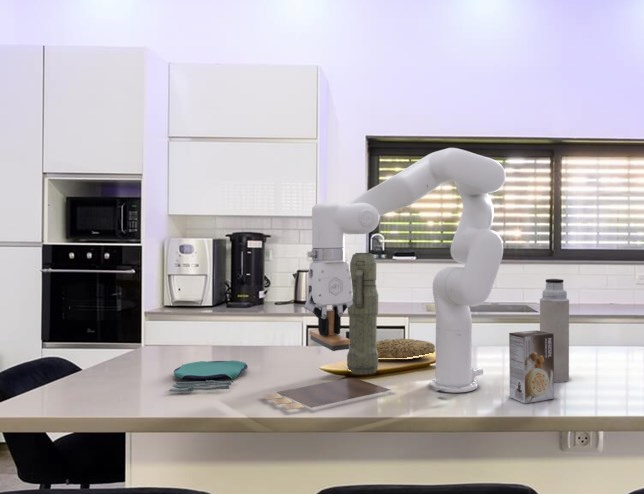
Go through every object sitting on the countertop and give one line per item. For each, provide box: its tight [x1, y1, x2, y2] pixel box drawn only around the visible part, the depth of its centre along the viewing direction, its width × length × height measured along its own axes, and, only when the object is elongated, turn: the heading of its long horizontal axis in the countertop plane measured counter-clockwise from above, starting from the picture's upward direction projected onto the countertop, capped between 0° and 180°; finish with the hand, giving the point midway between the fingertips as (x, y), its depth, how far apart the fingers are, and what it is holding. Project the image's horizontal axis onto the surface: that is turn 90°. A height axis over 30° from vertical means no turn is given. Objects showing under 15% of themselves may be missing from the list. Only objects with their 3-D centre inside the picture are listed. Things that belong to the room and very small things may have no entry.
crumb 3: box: [281, 402, 305, 410], centre depth 126 cm, size 4×4×1 cm
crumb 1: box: [262, 392, 284, 401], centre depth 133 cm, size 4×4×1 cm
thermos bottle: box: [539, 278, 570, 383], centre depth 156 cm, size 8×8×28 cm
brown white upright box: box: [508, 330, 555, 404], centre depth 136 cm, size 9×6×16 cm
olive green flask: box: [346, 252, 379, 375], centre depth 160 cm, size 9×12×35 cm
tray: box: [276, 376, 391, 409], centre depth 139 cm, size 23×17×1 cm
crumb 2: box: [270, 397, 293, 406], centre depth 129 cm, size 4×4×1 cm
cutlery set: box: [168, 359, 248, 393], centre depth 154 cm, size 20×30×2 cm, turn 9°
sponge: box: [376, 337, 436, 361], centre depth 181 cm, size 13×8×20 cm
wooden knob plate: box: [309, 309, 350, 352], centre depth 130 cm, size 4×14×8 cm, turn 31°
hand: (329, 333), depth 130 cm, fingers closed on wooden knob plate, 2 cm apart
